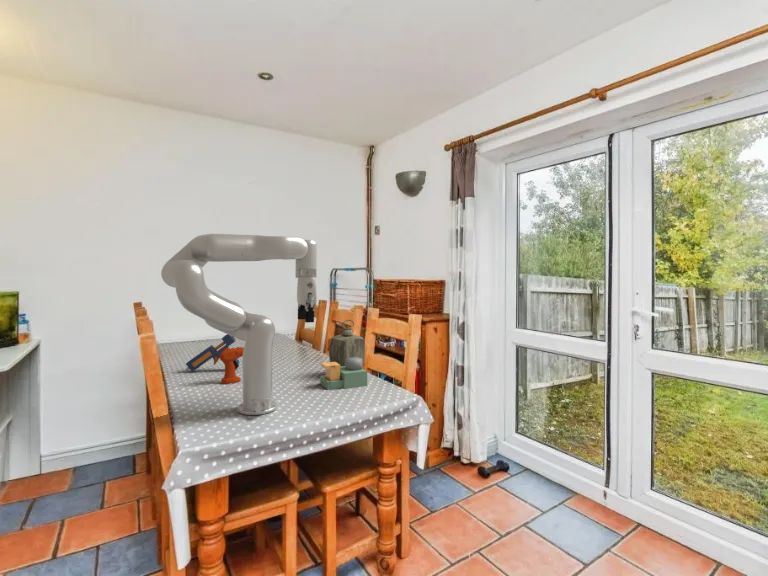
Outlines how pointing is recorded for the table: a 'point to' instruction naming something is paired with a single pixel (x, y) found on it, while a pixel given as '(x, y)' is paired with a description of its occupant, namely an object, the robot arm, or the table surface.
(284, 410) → the table surface
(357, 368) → the green drawer box
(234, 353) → the toy drill
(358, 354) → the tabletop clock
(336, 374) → the orange rectangular block
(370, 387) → the table surface
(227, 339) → the glue gun
